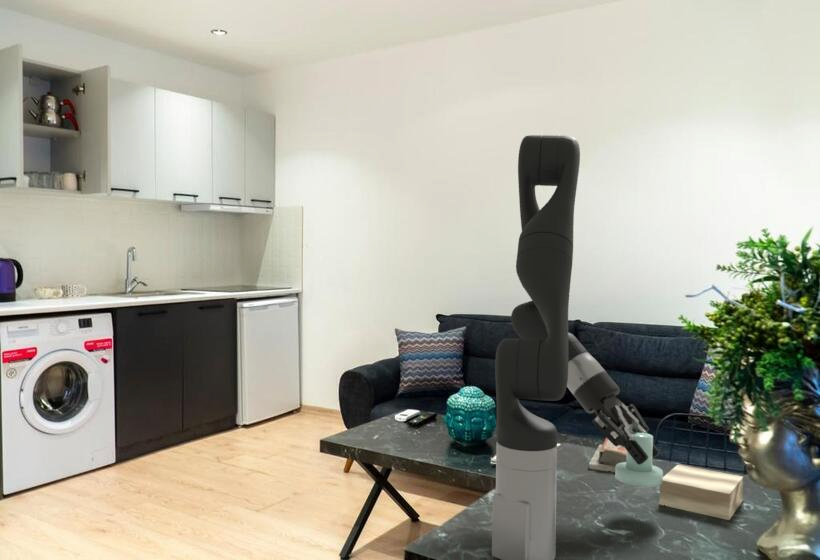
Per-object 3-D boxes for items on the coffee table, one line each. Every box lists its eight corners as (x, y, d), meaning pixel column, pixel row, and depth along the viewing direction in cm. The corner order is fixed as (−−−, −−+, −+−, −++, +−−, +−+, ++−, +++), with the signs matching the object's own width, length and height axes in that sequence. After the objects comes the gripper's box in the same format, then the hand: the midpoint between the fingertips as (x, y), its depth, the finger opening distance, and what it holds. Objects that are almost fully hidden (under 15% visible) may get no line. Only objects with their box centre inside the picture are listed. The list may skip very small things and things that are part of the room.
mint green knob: (651, 490, 112) (652, 443, 111) (607, 479, 117) (608, 434, 117) (669, 480, 117) (671, 435, 117) (627, 470, 123) (628, 427, 123)
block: (729, 522, 115) (729, 493, 115) (659, 506, 123) (659, 479, 122) (742, 502, 125) (743, 476, 125) (677, 489, 132) (677, 464, 132)
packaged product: (599, 430, 160) (642, 435, 156) (599, 450, 160) (642, 455, 156) (588, 449, 143) (636, 454, 139) (588, 471, 143) (636, 477, 140)
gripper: (583, 373, 117) (648, 454, 109) (618, 366, 127) (680, 440, 119) (556, 398, 120) (617, 479, 112) (592, 390, 131) (651, 462, 123)
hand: (649, 458), depth 116 cm, fingers closed on mint green knob, 4 cm apart
